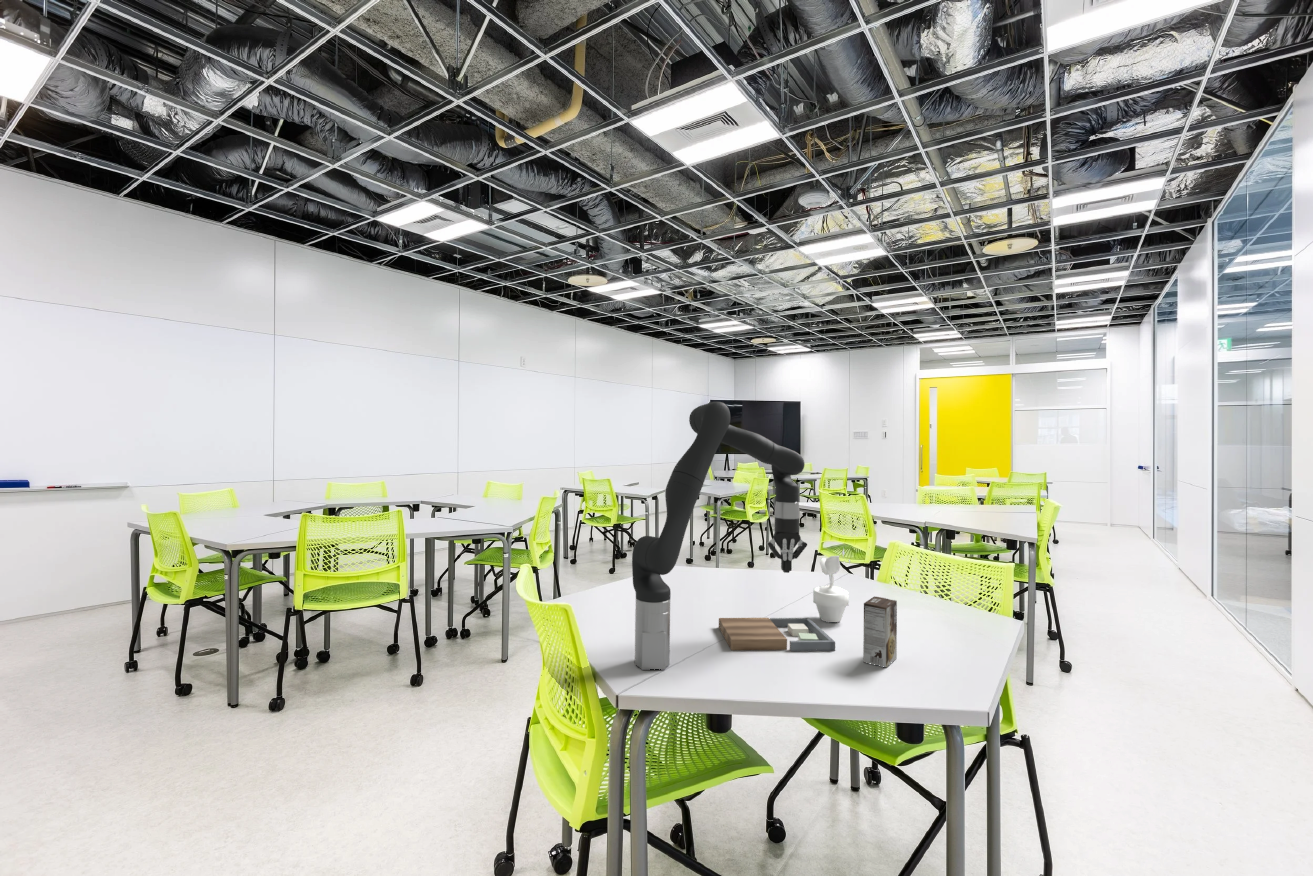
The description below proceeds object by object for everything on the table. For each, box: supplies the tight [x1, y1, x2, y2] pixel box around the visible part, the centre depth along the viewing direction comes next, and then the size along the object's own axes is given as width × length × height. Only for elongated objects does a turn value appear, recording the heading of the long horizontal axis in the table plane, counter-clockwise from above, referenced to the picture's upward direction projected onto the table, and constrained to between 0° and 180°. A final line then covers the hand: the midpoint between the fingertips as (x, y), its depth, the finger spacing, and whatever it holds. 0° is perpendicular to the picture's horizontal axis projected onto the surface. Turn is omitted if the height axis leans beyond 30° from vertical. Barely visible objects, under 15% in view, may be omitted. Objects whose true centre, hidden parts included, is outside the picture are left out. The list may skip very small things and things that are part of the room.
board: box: [718, 617, 788, 651], centre depth 171 cm, size 20×16×3 cm
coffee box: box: [862, 596, 898, 668], centre depth 155 cm, size 9×6×16 cm
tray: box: [769, 617, 836, 652], centre depth 172 cm, size 22×13×2 cm, turn 4°
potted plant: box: [812, 547, 851, 623], centre depth 190 cm, size 13×12×25 cm
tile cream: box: [787, 624, 810, 637], centre depth 176 cm, size 5×5×2 cm
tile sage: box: [797, 632, 819, 641], centre depth 167 cm, size 5×5×2 cm
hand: (786, 572), depth 177 cm, fingers closed
